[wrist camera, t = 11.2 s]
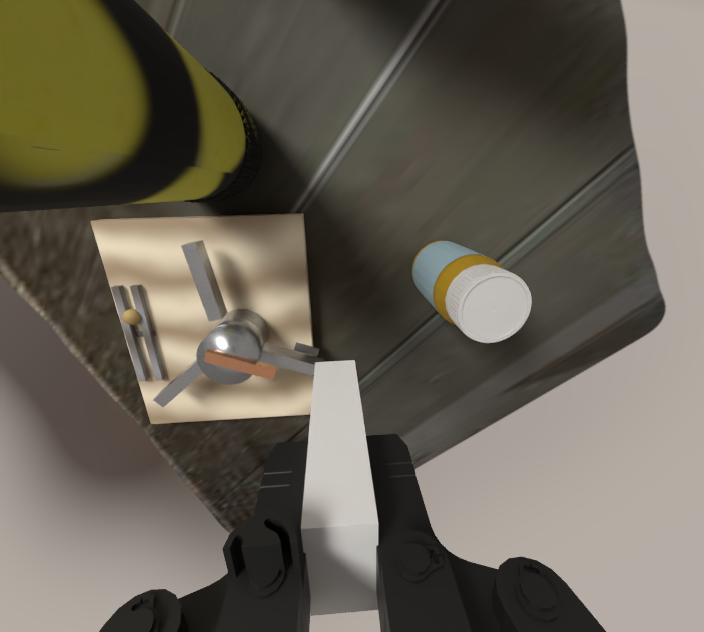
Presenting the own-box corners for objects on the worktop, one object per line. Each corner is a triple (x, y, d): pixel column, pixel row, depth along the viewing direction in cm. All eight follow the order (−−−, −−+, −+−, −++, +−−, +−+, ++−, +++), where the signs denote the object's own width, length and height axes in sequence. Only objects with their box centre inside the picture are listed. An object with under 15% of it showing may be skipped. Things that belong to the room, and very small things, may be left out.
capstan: (169, 384, 42) (137, 423, 35) (198, 233, 35) (167, 243, 28) (300, 417, 45) (294, 458, 38) (348, 283, 38) (353, 303, 31)
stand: (102, 219, 36) (78, 222, 33) (311, 212, 37) (309, 215, 34) (158, 414, 46) (144, 433, 42) (324, 404, 47) (323, 422, 43)
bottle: (452, 301, 42) (512, 356, 28) (401, 286, 41) (438, 335, 27) (475, 249, 40) (553, 281, 26) (422, 232, 39) (474, 255, 25)
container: (139, 98, 33) (-1023, -464, 5) (245, 73, 32) (-291, -666, 4) (181, 210, 36) (-306, 275, 8) (276, 188, 36) (97, 182, 8)
